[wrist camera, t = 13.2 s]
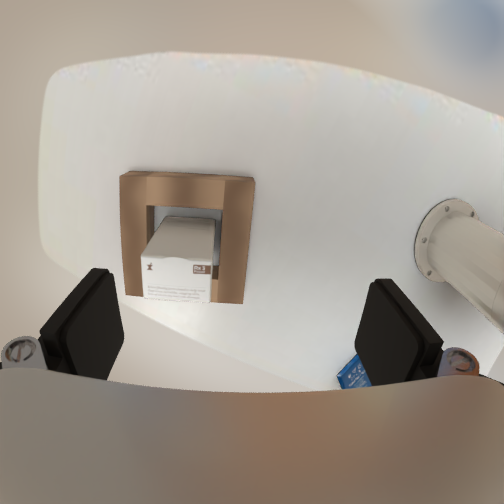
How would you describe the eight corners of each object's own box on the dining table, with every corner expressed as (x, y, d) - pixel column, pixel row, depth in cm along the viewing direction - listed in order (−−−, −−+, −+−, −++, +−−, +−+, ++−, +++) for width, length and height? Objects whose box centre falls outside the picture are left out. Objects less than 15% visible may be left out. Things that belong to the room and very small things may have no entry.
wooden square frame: (252, 177, 34) (255, 183, 30) (241, 289, 39) (242, 304, 36) (129, 171, 32) (119, 176, 29) (133, 281, 38) (125, 294, 34)
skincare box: (165, 249, 36) (139, 302, 25) (165, 213, 35) (136, 255, 23) (216, 252, 37) (210, 308, 26) (218, 216, 35) (212, 260, 24)
